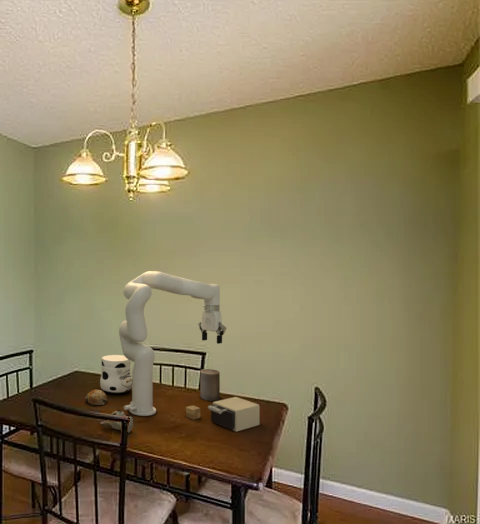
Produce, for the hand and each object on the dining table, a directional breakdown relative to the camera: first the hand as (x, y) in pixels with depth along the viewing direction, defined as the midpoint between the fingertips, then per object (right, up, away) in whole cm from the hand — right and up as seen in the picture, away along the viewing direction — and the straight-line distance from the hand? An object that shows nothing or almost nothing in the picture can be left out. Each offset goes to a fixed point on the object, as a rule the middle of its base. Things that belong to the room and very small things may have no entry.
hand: (211, 341), depth 217 cm
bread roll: (-59, -30, -4) cm, 66 cm away
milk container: (-48, -30, +14) cm, 58 cm away
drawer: (-3, -29, -34) cm, 45 cm away
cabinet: (0, -29, -32) cm, 43 cm away
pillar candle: (0, -30, +2) cm, 30 cm away
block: (-16, -29, -25) cm, 42 cm away
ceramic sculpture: (-51, -30, -38) cm, 71 cm away
